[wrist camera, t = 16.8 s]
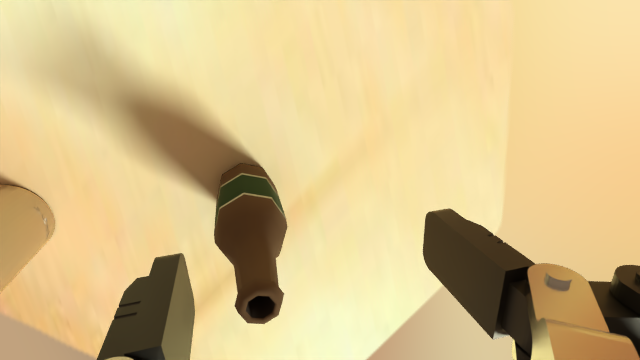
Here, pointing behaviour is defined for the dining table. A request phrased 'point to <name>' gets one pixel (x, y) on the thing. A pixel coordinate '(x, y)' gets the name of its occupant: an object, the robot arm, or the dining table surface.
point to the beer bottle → (251, 239)
